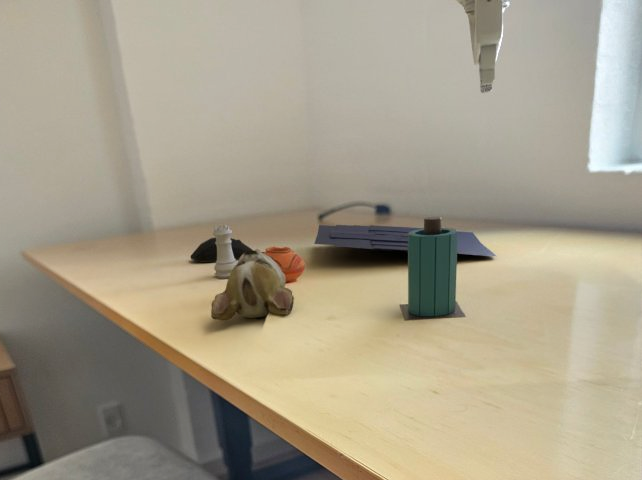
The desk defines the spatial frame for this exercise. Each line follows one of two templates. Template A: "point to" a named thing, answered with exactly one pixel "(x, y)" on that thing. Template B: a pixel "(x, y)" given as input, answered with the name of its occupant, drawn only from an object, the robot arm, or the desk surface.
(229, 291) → the ceramic sculpture
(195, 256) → the gaming mouse
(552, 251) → the desk surface
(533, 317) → the desk surface
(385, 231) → the papers
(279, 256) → the pot
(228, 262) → the rook chess piece
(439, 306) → the teal grooved cylinder
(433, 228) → the stand
